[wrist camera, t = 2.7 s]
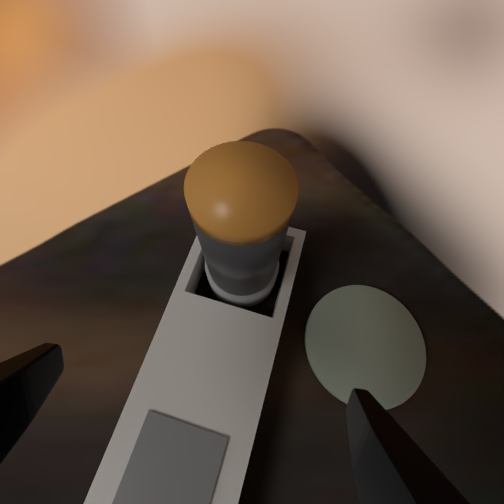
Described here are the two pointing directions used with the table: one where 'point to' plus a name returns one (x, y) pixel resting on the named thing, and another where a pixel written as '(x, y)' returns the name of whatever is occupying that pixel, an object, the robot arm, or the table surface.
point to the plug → (241, 217)
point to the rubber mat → (365, 345)
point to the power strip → (195, 397)
